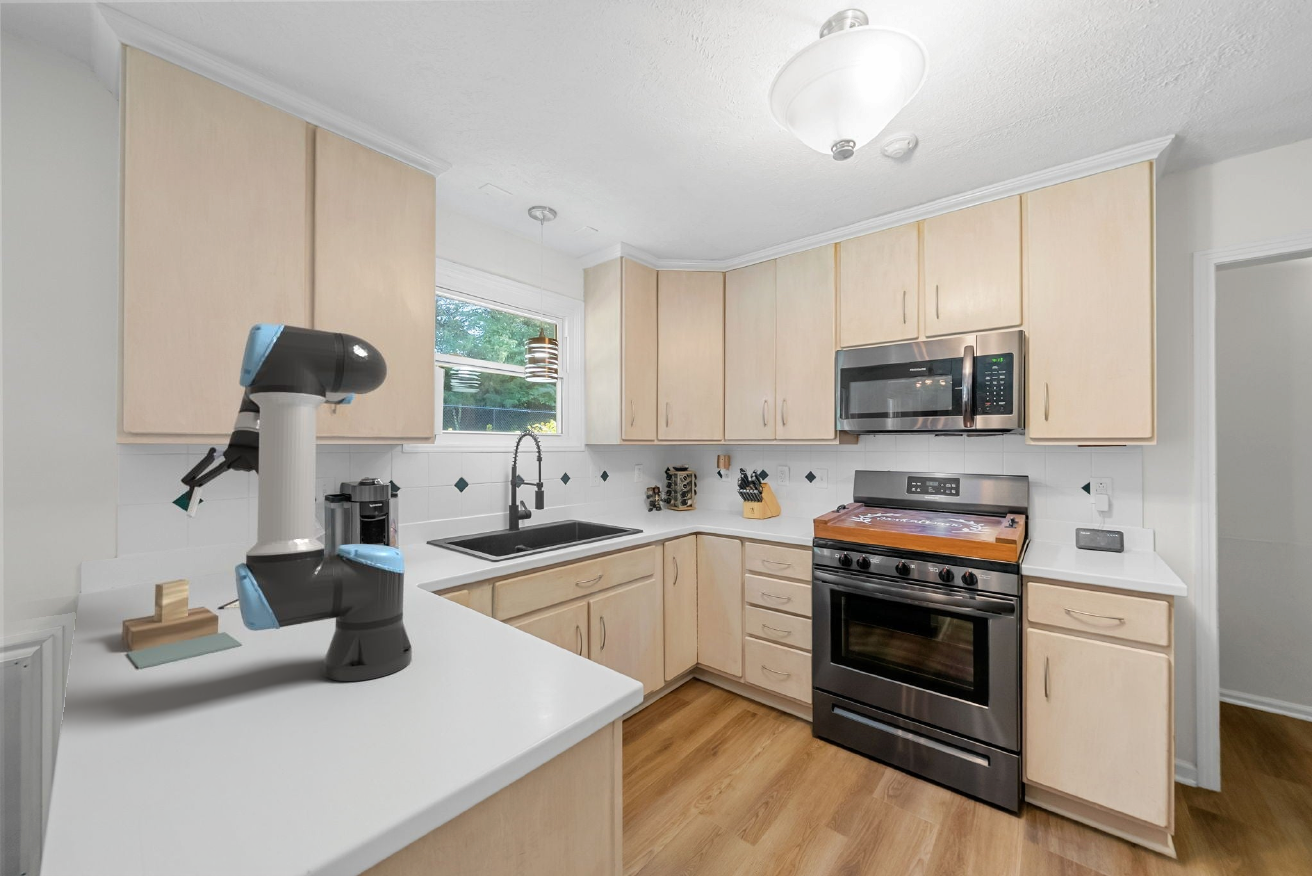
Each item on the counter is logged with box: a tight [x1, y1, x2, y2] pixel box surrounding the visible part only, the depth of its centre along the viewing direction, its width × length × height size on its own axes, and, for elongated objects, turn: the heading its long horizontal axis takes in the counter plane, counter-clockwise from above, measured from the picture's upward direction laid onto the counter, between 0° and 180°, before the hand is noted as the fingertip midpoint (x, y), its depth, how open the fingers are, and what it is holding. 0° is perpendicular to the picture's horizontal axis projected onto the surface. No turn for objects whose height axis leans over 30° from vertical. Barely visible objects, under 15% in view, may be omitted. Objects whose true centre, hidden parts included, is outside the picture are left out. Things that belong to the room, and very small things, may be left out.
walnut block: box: [121, 606, 219, 651], centre depth 120 cm, size 12×14×4 cm
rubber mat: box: [126, 631, 243, 670], centre depth 112 cm, size 12×16×1 cm
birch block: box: [153, 579, 190, 622], centre depth 120 cm, size 2×5×8 cm, turn 162°
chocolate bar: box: [217, 598, 240, 610], centre depth 151 cm, size 9×1×18 cm
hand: (226, 519), depth 125 cm, fingers open, 13 cm apart
